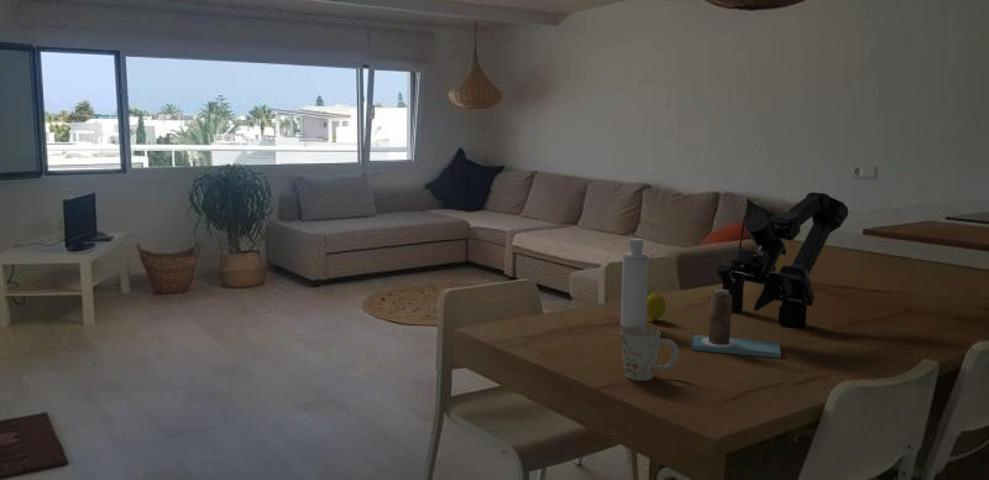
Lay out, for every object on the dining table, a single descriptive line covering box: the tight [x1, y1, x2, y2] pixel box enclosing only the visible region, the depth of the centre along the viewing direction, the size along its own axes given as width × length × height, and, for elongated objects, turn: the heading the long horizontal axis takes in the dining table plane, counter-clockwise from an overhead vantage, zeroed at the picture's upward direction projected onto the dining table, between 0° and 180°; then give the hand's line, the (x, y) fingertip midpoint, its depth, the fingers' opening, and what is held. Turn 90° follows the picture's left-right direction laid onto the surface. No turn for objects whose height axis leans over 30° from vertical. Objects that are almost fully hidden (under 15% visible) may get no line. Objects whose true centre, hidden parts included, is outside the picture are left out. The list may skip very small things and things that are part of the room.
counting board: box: [691, 334, 782, 359], centre depth 182 cm, size 20×9×1 cm, turn 73°
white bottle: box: [620, 237, 650, 328], centre depth 200 cm, size 7×7×25 cm
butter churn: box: [729, 214, 747, 313], centre depth 216 cm, size 9×10×28 cm
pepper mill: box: [708, 288, 732, 345], centre depth 182 cm, size 5×5×13 cm
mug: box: [620, 326, 680, 382], centre depth 161 cm, size 8×13×10 cm, turn 95°
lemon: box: [646, 291, 666, 322], centre depth 206 cm, size 6×6×8 cm
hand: (738, 306), depth 186 cm, fingers open, 9 cm apart
